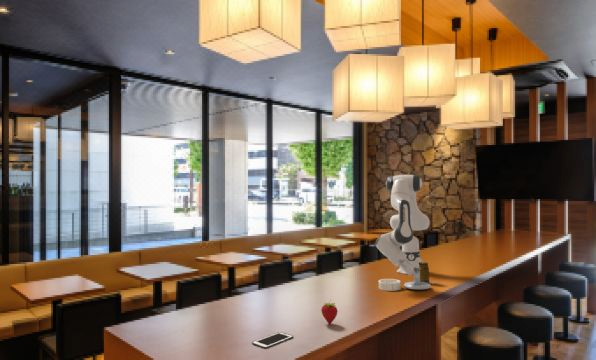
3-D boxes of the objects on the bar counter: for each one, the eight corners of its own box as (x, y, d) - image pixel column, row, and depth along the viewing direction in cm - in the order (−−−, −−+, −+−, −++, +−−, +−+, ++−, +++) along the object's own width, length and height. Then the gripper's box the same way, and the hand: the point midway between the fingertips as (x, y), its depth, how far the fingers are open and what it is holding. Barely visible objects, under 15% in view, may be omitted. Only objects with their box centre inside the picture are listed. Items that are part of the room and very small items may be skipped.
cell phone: (251, 345, 145) (250, 342, 145) (280, 334, 155) (280, 331, 155) (265, 350, 139) (265, 347, 139) (294, 338, 150) (294, 335, 150)
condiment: (422, 281, 239) (421, 261, 240) (435, 283, 233) (434, 262, 233) (415, 283, 235) (414, 262, 235) (428, 285, 228) (427, 264, 229)
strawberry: (328, 320, 170) (327, 296, 170) (341, 324, 164) (340, 299, 164) (318, 323, 166) (317, 299, 166) (331, 327, 160) (330, 302, 160)
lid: (403, 283, 229) (402, 265, 229) (428, 283, 226) (428, 265, 227) (404, 289, 215) (404, 270, 216) (432, 289, 213) (431, 270, 213)
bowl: (378, 285, 231) (378, 278, 231) (400, 286, 228) (400, 279, 228) (378, 290, 219) (378, 283, 219) (400, 291, 217) (400, 283, 217)
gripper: (403, 257, 213) (423, 276, 210) (402, 252, 233) (420, 269, 230) (395, 266, 214) (415, 284, 211) (394, 259, 234) (412, 276, 231)
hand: (418, 276), depth 221 cm, fingers closed on lid, 3 cm apart
